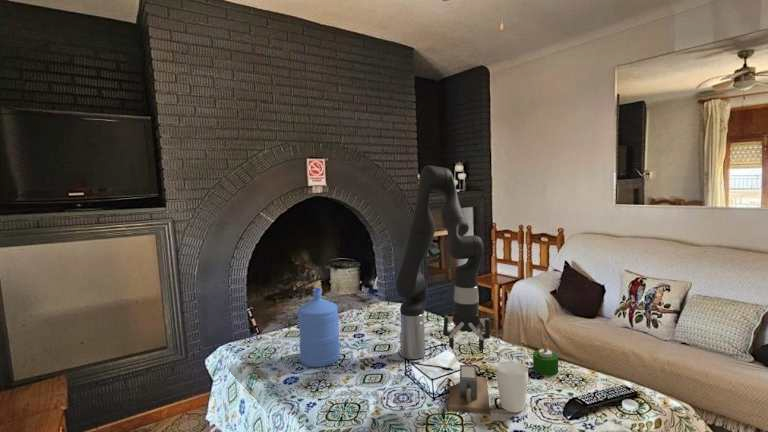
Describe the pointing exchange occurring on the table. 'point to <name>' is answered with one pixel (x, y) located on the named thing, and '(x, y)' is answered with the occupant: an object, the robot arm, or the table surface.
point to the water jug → (318, 332)
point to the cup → (512, 385)
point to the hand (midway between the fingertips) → (466, 349)
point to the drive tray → (469, 403)
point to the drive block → (468, 381)
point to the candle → (545, 362)
